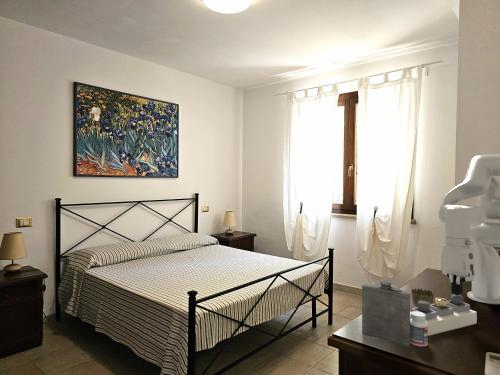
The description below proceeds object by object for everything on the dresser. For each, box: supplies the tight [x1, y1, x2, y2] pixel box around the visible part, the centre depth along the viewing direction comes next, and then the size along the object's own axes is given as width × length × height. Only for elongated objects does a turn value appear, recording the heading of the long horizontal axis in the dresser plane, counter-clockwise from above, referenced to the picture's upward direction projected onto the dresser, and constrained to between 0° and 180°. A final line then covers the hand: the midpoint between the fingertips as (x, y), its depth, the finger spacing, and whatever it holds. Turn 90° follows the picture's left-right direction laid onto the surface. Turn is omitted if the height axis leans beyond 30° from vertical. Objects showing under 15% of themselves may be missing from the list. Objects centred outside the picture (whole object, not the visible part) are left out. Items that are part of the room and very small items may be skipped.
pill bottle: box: [410, 311, 429, 348], centre depth 101 cm, size 5×5×9 cm
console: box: [410, 299, 478, 337], centre depth 113 cm, size 23×9×6 cm, turn 112°
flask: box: [361, 279, 411, 347], centre depth 103 cm, size 4×14×18 cm, turn 52°
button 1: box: [418, 301, 430, 313], centre depth 110 cm, size 4×4×3 cm
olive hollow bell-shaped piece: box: [410, 287, 435, 308], centre depth 123 cm, size 8×7×8 cm
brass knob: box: [434, 297, 448, 309], centre depth 113 cm, size 4×4×3 cm
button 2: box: [450, 293, 464, 305], centre depth 116 cm, size 4×4×3 cm
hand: (457, 294), depth 116 cm, fingers closed
